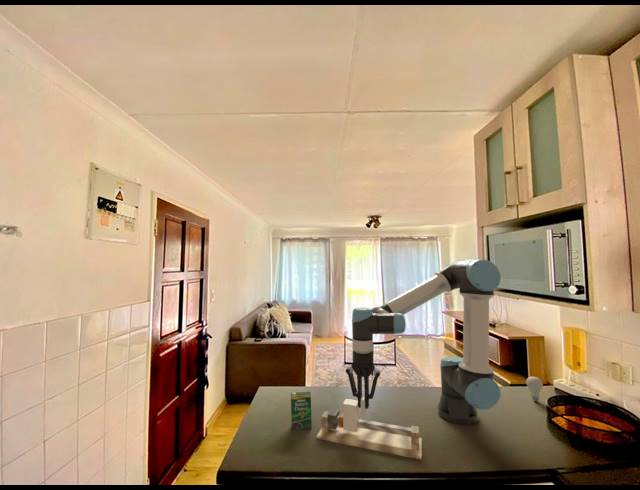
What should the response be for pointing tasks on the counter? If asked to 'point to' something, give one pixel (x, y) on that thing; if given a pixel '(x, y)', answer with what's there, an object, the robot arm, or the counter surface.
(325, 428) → the stand
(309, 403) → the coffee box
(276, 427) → the counter surface
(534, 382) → the lightbulb
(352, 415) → the sleeve
